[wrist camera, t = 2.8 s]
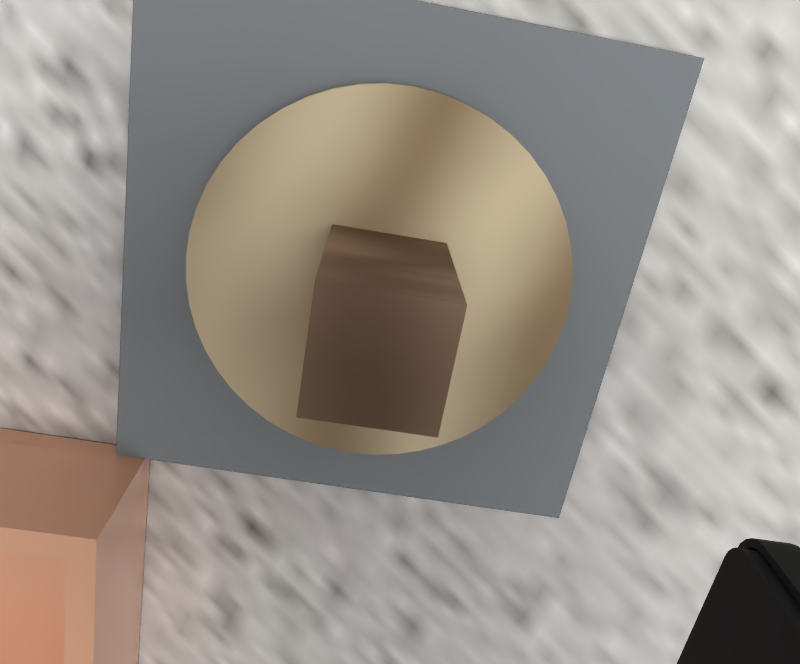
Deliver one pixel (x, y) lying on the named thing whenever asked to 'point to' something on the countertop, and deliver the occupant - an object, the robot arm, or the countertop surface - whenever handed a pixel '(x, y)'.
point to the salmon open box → (70, 550)
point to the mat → (410, 65)
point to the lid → (379, 269)
